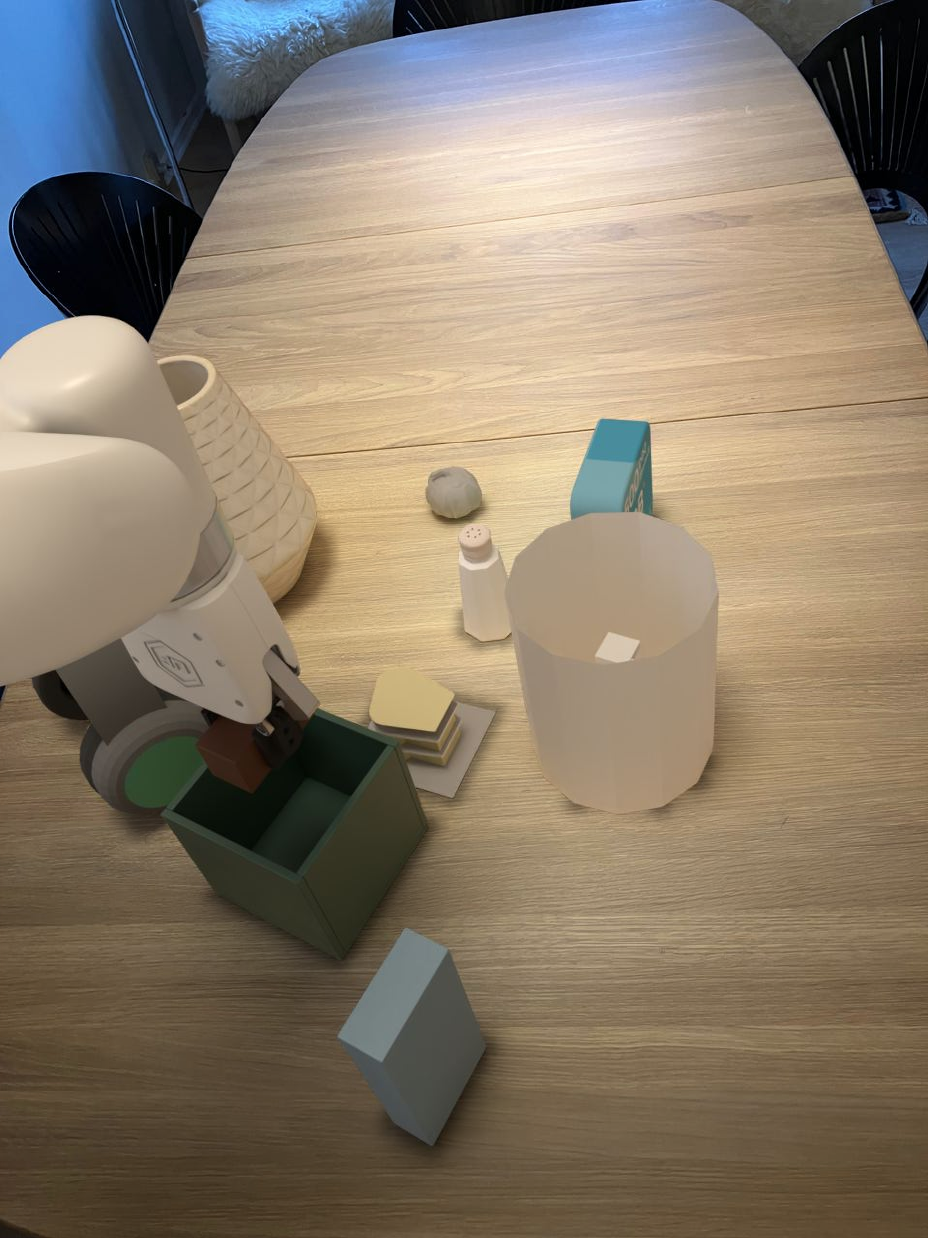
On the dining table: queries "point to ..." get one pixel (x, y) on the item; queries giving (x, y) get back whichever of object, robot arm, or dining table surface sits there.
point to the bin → (307, 832)
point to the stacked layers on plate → (428, 727)
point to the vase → (245, 474)
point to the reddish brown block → (234, 753)
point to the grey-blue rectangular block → (415, 1035)
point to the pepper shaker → (482, 585)
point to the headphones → (126, 729)
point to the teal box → (615, 470)
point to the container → (617, 657)
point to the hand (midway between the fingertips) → (261, 740)
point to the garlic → (453, 492)
